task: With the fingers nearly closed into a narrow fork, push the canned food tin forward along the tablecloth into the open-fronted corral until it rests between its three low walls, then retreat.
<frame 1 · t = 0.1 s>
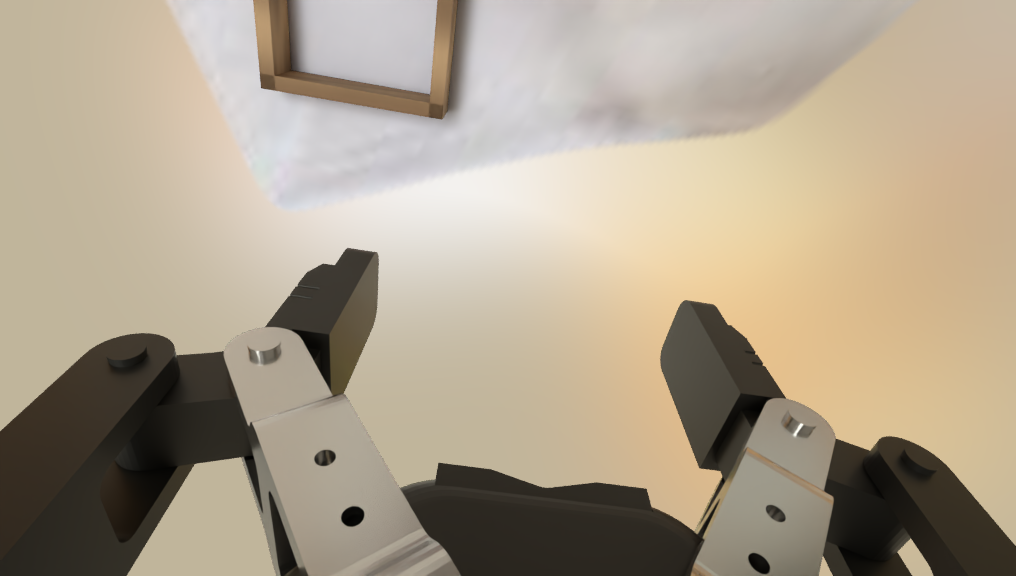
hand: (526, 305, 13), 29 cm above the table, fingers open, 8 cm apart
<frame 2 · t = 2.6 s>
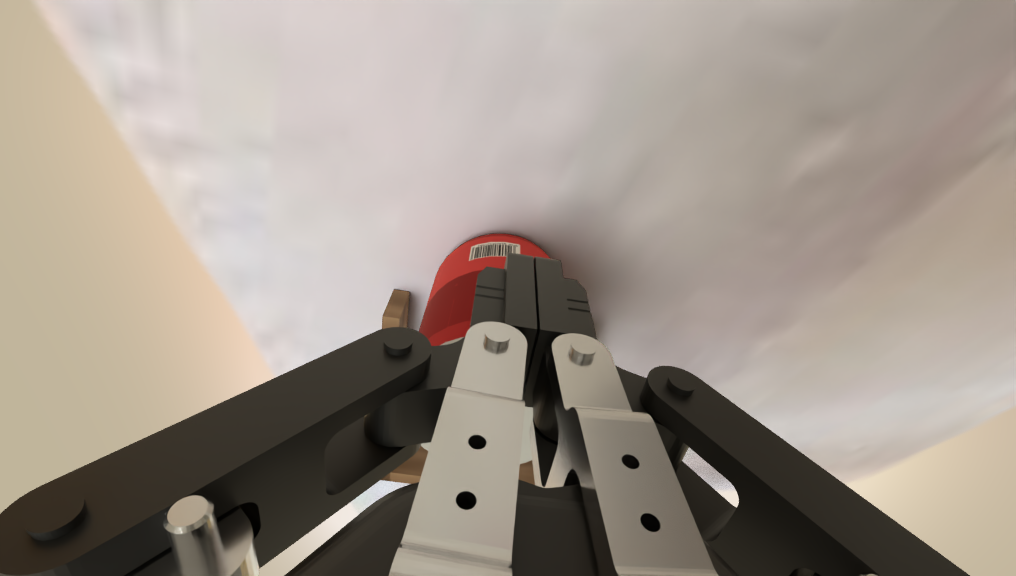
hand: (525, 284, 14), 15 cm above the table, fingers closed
canned food: (498, 283, 31), on the table
corral: (479, 389, 36), on the table
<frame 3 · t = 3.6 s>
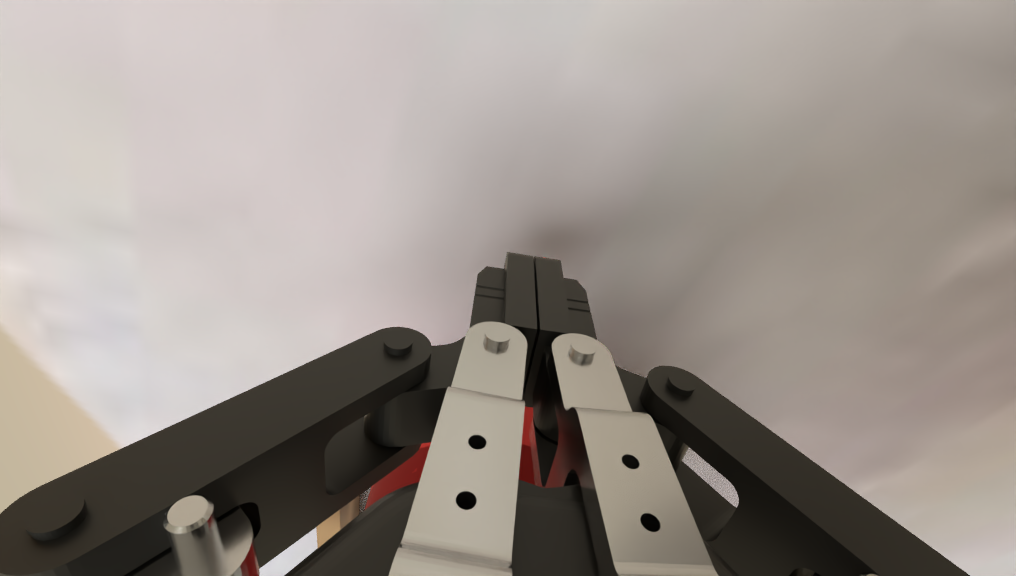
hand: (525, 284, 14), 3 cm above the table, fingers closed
canned food: (488, 409, 22), on the table
corral: (463, 534, 26), on the table
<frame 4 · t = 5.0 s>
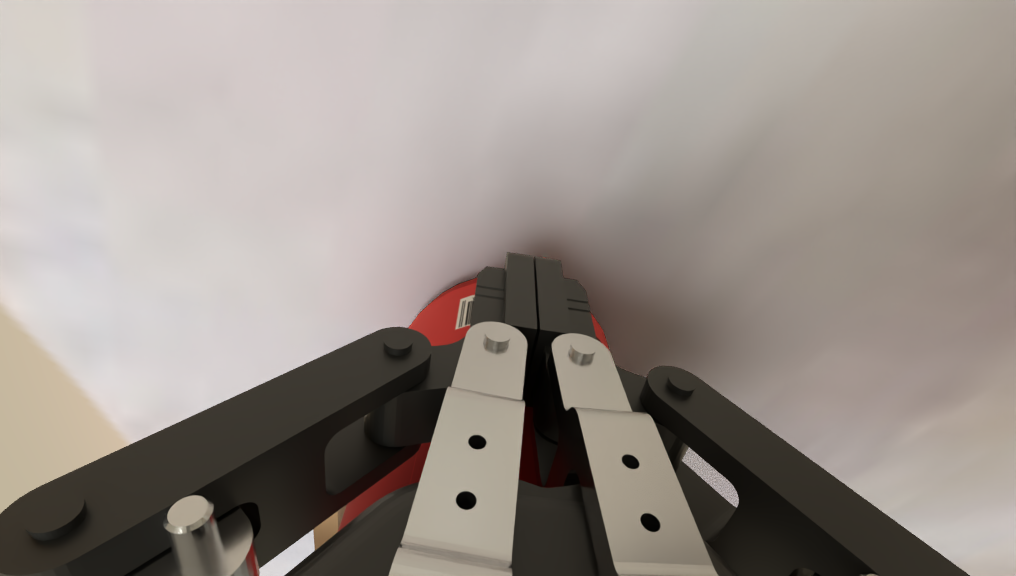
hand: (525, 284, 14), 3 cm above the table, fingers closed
canned food: (503, 350, 19), on the table, touching gripper
corral: (473, 494, 23), on the table
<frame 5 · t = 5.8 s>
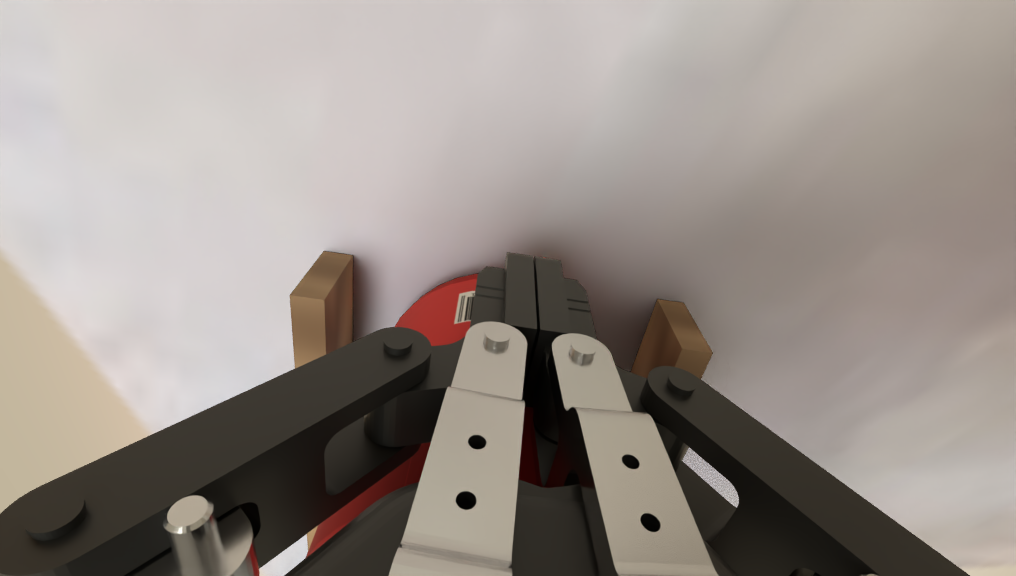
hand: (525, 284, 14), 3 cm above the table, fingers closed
canned food: (492, 349, 19), on the table, touching gripper
corral: (481, 427, 21), on the table
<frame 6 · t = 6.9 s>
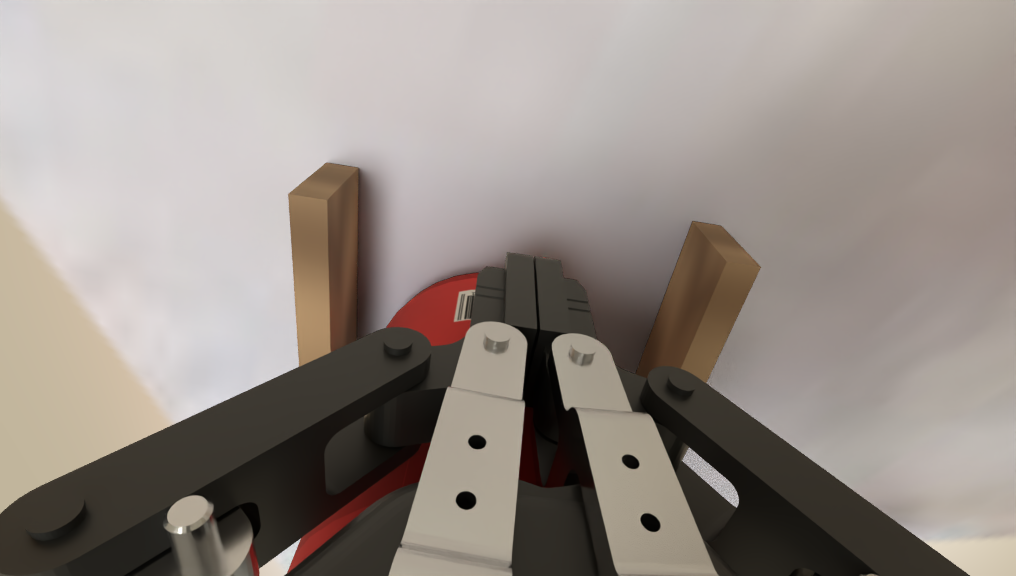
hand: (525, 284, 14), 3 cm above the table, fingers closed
canned food: (486, 349, 19), on the table, touching gripper
corral: (495, 373, 20), on the table
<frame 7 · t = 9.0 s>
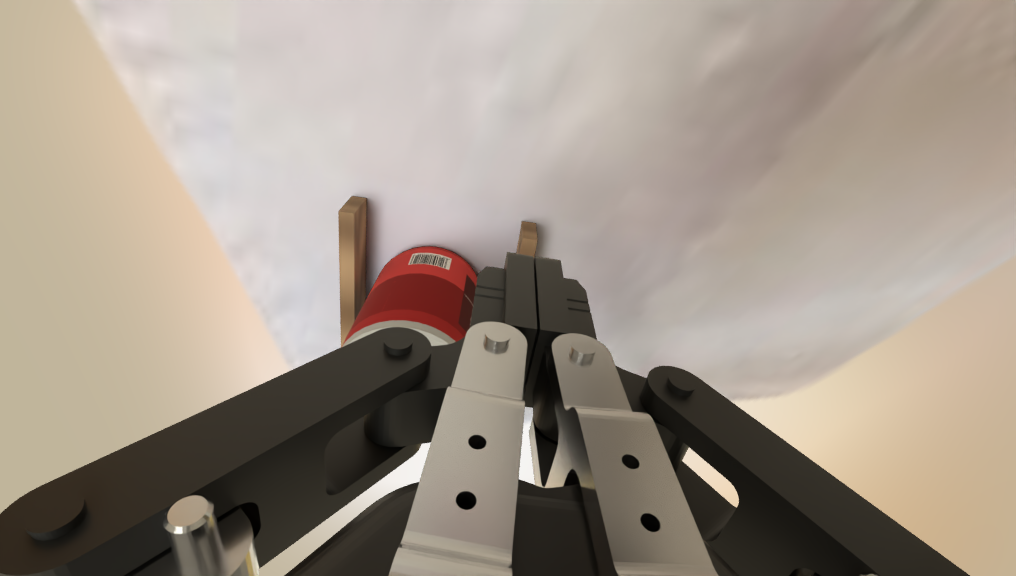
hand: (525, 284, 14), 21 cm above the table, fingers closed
canned food: (431, 286, 38), on the table
corral: (436, 300, 38), on the table
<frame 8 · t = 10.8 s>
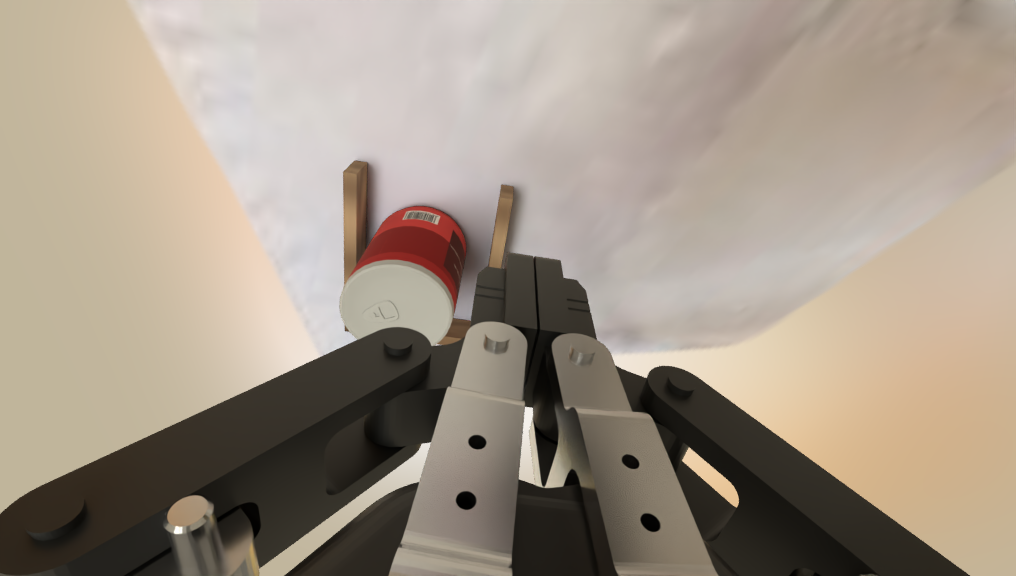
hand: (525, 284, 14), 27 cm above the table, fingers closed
canned food: (422, 242, 43), on the table
corral: (427, 254, 44), on the table
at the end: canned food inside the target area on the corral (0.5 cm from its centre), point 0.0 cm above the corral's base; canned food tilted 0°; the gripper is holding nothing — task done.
